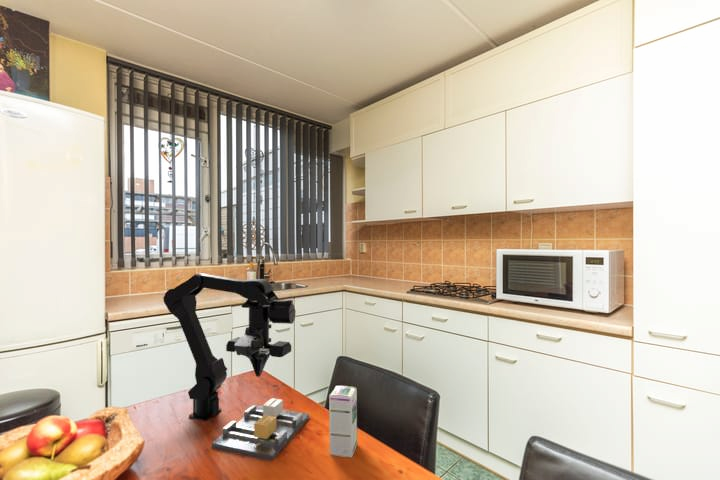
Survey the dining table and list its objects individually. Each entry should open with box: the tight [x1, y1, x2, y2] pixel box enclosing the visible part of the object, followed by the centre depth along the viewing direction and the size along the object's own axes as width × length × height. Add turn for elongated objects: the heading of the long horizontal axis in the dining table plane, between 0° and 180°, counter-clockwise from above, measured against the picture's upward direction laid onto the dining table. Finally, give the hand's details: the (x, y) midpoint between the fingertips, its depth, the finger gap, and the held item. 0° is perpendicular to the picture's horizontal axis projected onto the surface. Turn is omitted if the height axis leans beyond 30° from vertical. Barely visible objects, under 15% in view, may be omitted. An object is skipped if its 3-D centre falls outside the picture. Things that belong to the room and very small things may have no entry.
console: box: [211, 404, 310, 462], centre depth 89 cm, size 17×20×3 cm
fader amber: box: [254, 415, 276, 439], centre depth 84 cm, size 4×4×5 cm
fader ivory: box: [262, 397, 284, 419], centre depth 93 cm, size 4×4×5 cm
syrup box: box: [328, 385, 358, 458], centre depth 81 cm, size 6×6×14 cm
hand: (258, 376), depth 96 cm, fingers closed
